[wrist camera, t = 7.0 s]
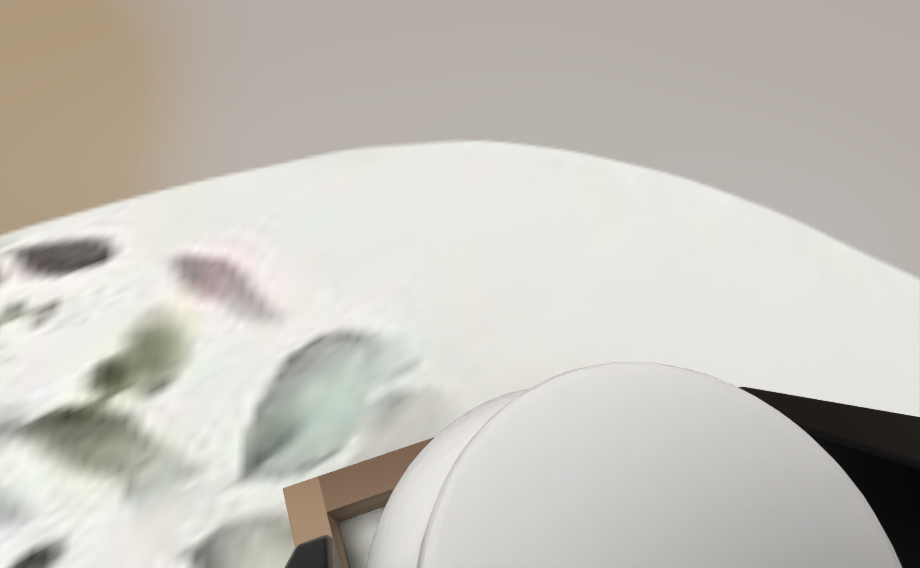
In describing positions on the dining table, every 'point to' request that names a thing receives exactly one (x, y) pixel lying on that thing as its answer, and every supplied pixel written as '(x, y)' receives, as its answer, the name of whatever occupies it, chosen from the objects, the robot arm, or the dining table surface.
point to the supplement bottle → (627, 483)
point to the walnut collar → (345, 495)
